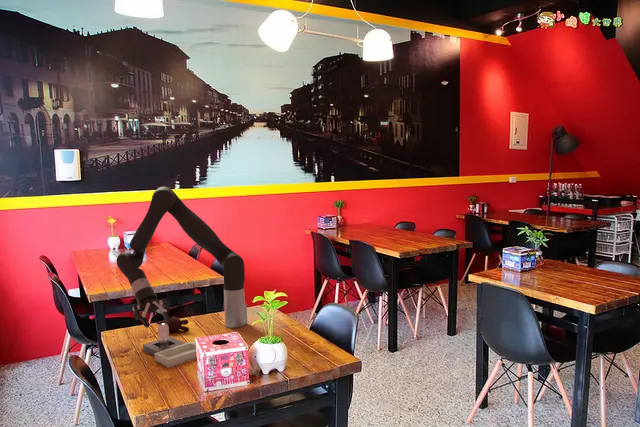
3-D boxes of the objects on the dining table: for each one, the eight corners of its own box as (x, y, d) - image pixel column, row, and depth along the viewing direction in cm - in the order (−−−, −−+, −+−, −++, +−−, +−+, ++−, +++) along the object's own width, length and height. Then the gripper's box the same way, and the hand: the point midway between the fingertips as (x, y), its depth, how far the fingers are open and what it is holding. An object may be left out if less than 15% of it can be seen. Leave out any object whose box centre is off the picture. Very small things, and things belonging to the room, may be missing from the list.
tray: (192, 348, 191) (191, 341, 191) (206, 354, 184) (205, 347, 184) (154, 361, 179) (154, 353, 179) (168, 368, 172) (167, 360, 172)
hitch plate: (170, 342, 199) (170, 336, 198) (185, 349, 190) (185, 343, 190) (143, 350, 190) (142, 344, 190) (157, 358, 182) (157, 352, 182)
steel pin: (166, 347, 193) (165, 321, 192) (171, 349, 190) (170, 323, 189) (157, 350, 190) (155, 323, 189) (162, 352, 187) (160, 325, 186)
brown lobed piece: (152, 320, 208) (185, 323, 207) (159, 311, 215) (191, 314, 214) (153, 334, 210) (186, 337, 209) (160, 324, 217) (192, 327, 216)
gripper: (129, 289, 192) (144, 323, 185) (161, 283, 202) (177, 314, 195) (124, 300, 196) (138, 333, 189) (156, 293, 206) (171, 324, 199)
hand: (158, 324), depth 192 cm, fingers open, 8 cm apart
